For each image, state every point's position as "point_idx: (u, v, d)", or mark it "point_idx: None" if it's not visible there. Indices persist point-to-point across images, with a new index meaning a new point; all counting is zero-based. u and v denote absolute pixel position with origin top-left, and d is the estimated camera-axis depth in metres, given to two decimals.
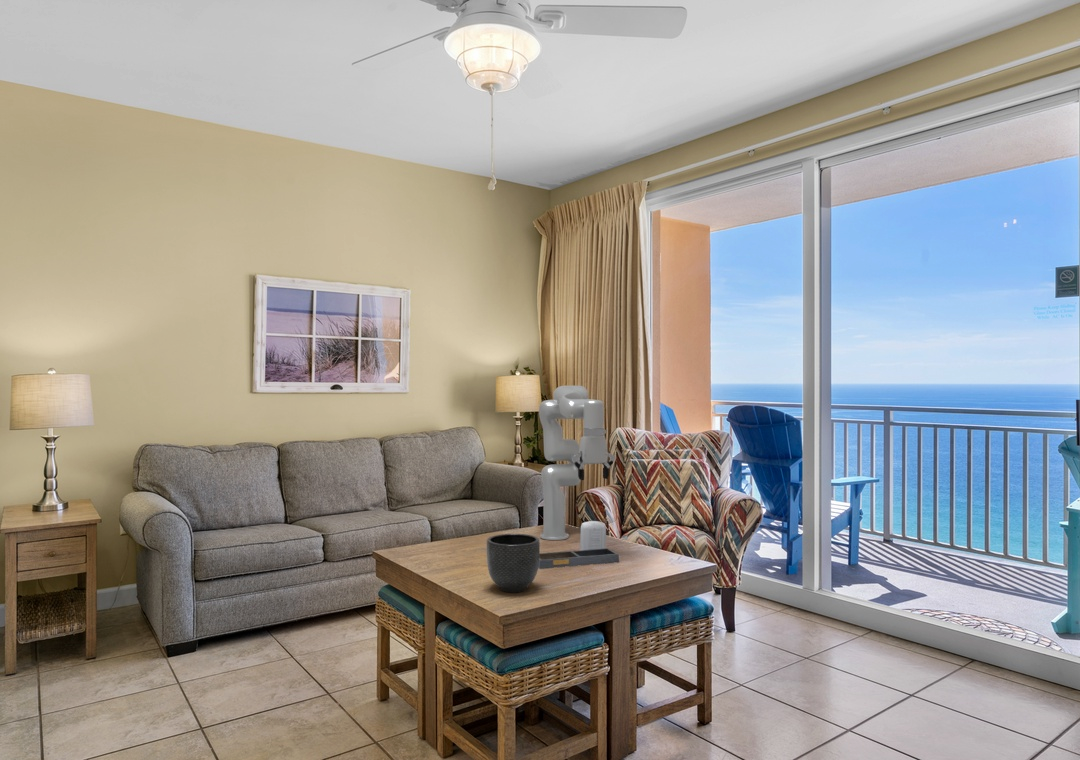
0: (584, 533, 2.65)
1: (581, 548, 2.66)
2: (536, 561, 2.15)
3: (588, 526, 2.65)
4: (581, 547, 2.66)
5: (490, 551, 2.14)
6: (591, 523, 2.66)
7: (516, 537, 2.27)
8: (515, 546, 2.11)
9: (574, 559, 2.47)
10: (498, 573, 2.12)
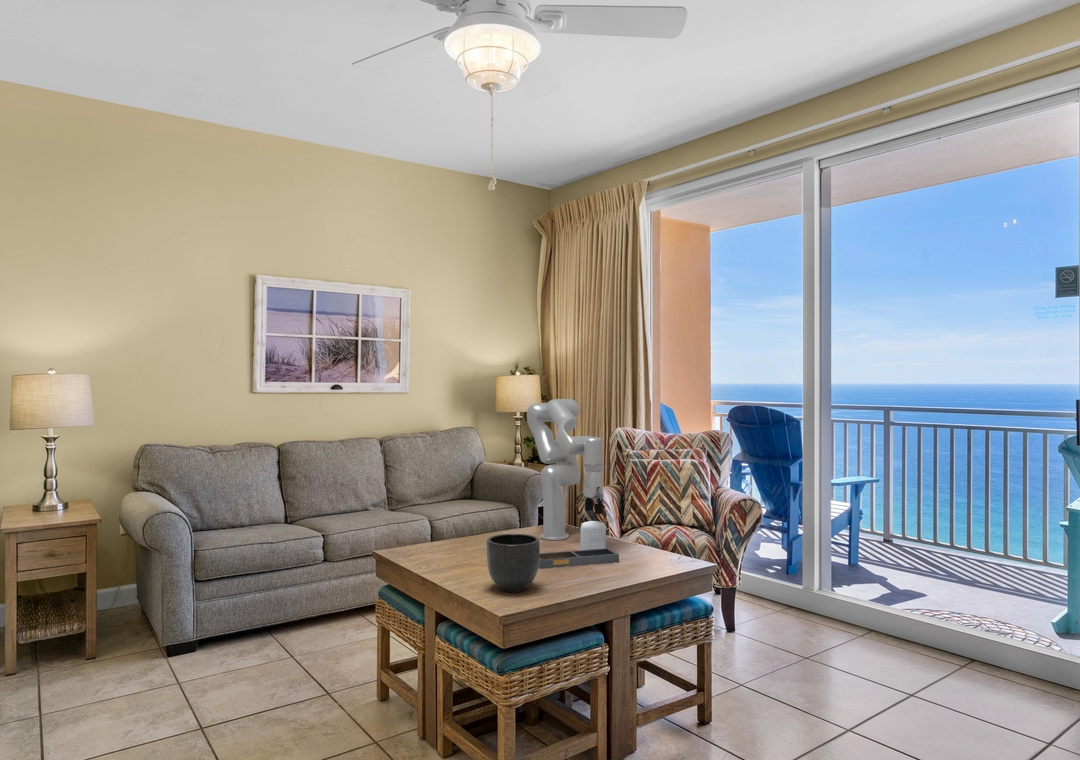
0: (584, 533, 2.65)
1: (581, 548, 2.66)
2: (536, 561, 2.15)
3: (588, 526, 2.65)
4: (581, 547, 2.66)
5: (490, 551, 2.14)
6: (591, 523, 2.66)
7: (516, 537, 2.27)
8: (515, 546, 2.11)
9: (574, 559, 2.47)
10: (498, 573, 2.12)
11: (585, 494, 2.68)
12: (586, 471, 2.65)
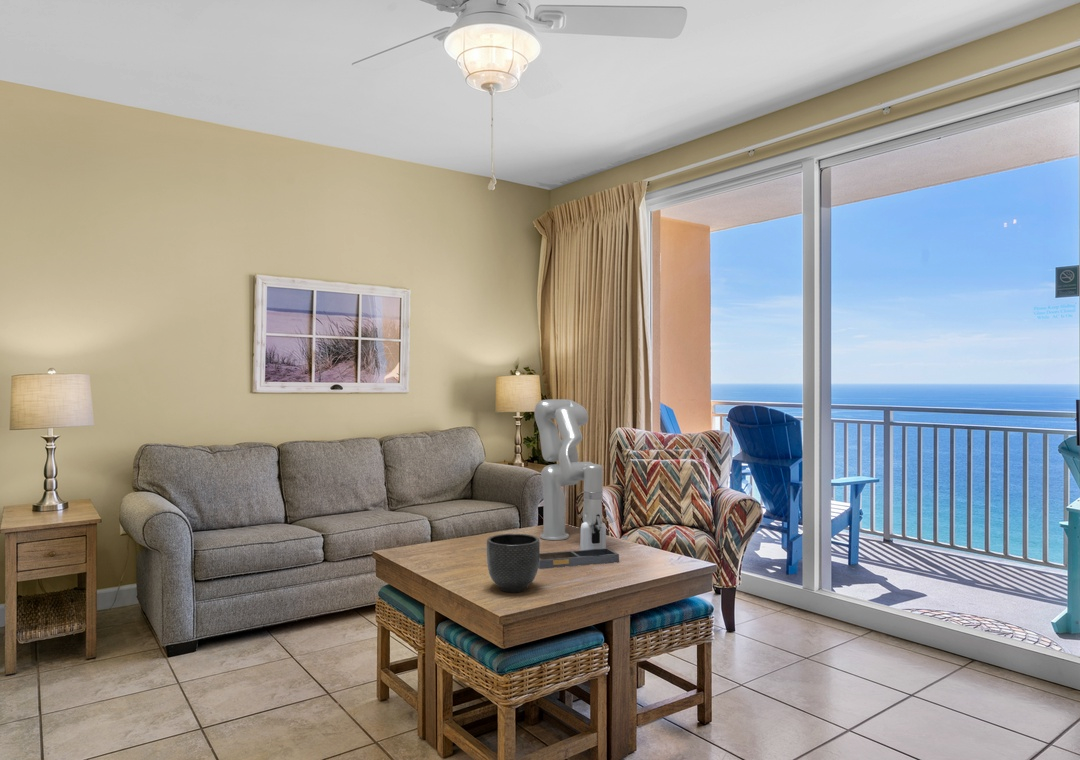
0: (584, 533, 2.65)
1: (581, 548, 2.66)
2: (536, 561, 2.15)
3: (588, 526, 2.65)
4: (581, 547, 2.66)
5: (490, 551, 2.14)
6: None
7: (516, 537, 2.27)
8: (515, 546, 2.11)
9: (574, 559, 2.47)
10: (498, 573, 2.12)
11: (584, 521, 2.68)
12: (586, 498, 2.65)
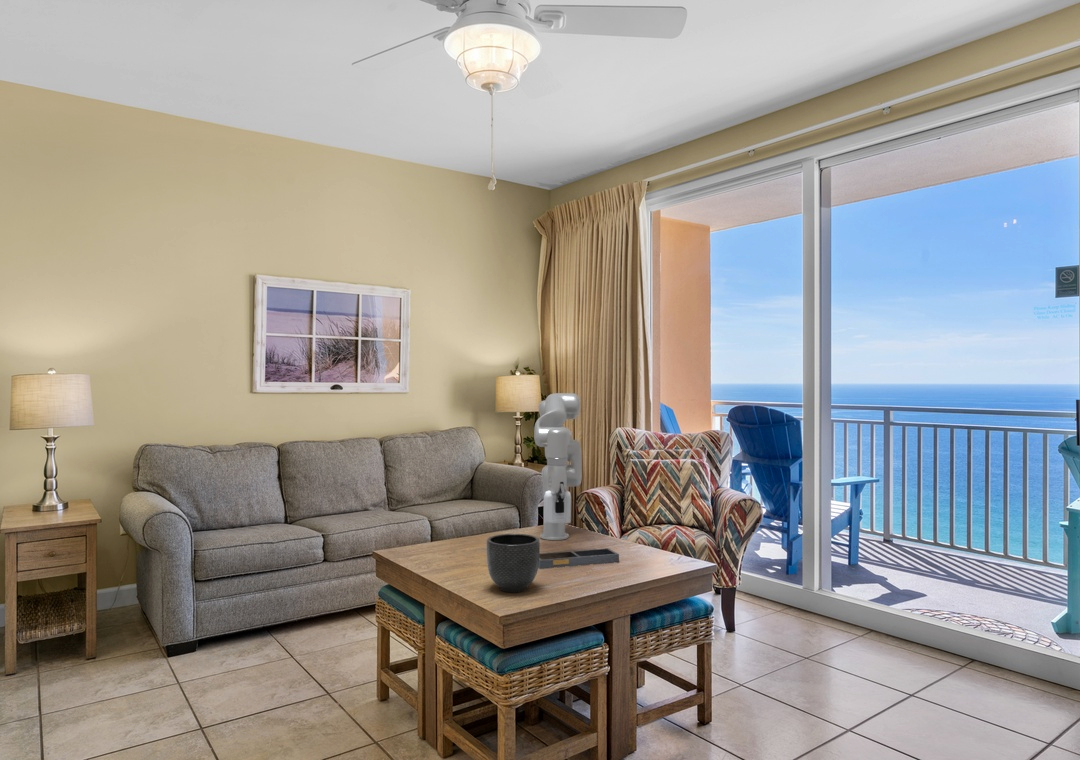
0: (548, 502, 2.48)
1: (544, 518, 2.49)
2: (536, 561, 2.15)
3: (552, 494, 2.48)
4: (544, 517, 2.49)
5: (490, 551, 2.14)
6: None
7: (516, 537, 2.27)
8: (515, 546, 2.11)
9: (574, 559, 2.47)
10: (498, 573, 2.12)
11: (548, 489, 2.51)
12: (549, 465, 2.48)
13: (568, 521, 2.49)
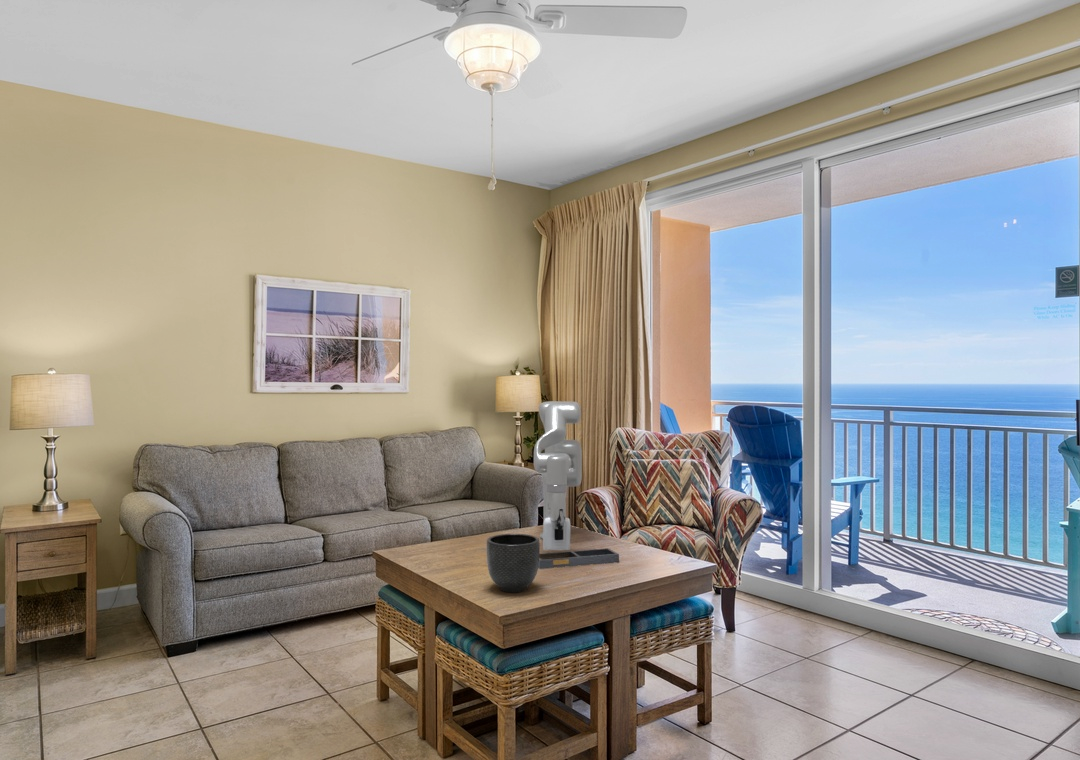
0: (547, 529, 2.47)
1: (544, 545, 2.48)
2: (536, 561, 2.15)
3: (551, 521, 2.48)
4: (544, 544, 2.48)
5: (490, 551, 2.14)
6: None
7: (516, 537, 2.27)
8: (515, 546, 2.11)
9: (574, 559, 2.47)
10: (498, 573, 2.12)
11: (547, 516, 2.51)
12: (548, 492, 2.48)
13: (567, 548, 2.48)
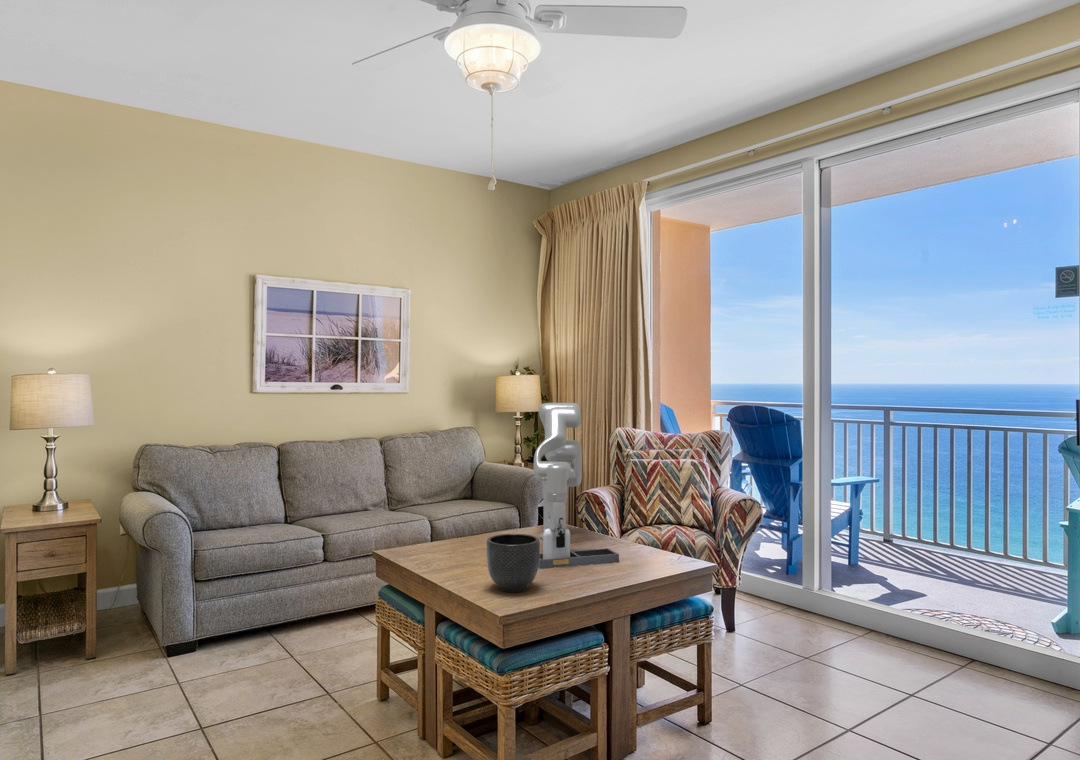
0: (547, 541, 2.48)
1: (544, 556, 2.48)
2: (536, 561, 2.15)
3: (551, 533, 2.48)
4: (544, 555, 2.48)
5: (490, 551, 2.14)
6: None
7: (516, 537, 2.27)
8: (515, 546, 2.11)
9: (574, 559, 2.47)
10: (498, 573, 2.12)
11: (547, 525, 2.51)
12: (548, 501, 2.48)
13: None
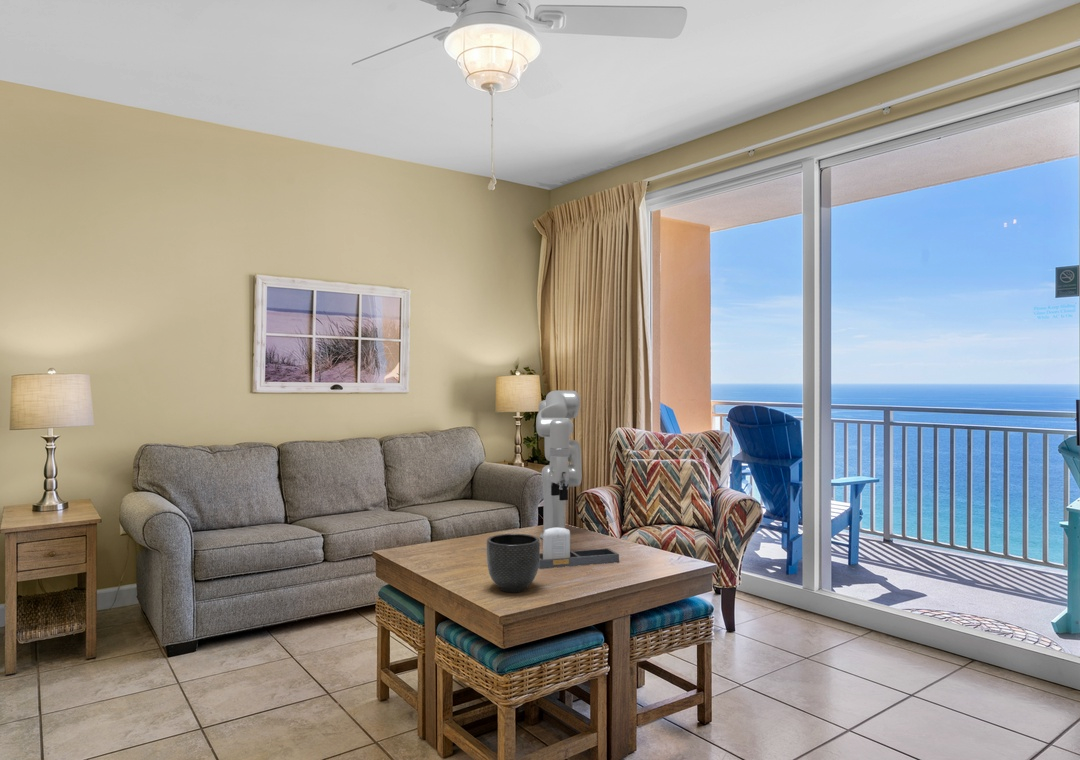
0: (547, 541, 2.47)
1: (544, 557, 2.48)
2: (536, 561, 2.15)
3: (551, 533, 2.48)
4: (544, 555, 2.48)
5: (490, 551, 2.14)
6: (554, 530, 2.48)
7: (516, 537, 2.27)
8: (515, 546, 2.11)
9: (574, 559, 2.47)
10: (498, 573, 2.12)
11: (550, 479, 2.55)
12: (551, 455, 2.52)
13: None
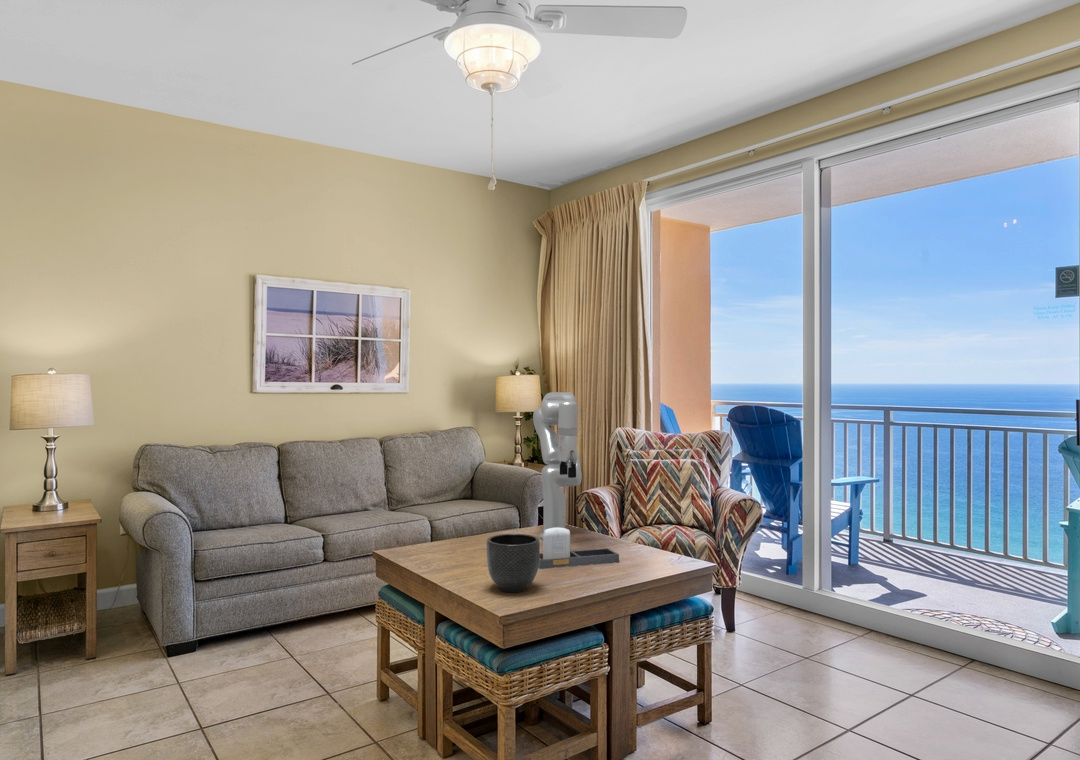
0: (547, 541, 2.47)
1: (544, 557, 2.48)
2: (536, 561, 2.15)
3: (551, 533, 2.48)
4: (544, 555, 2.48)
5: (490, 551, 2.14)
6: (554, 530, 2.48)
7: (516, 537, 2.27)
8: (515, 546, 2.11)
9: (574, 559, 2.47)
10: (498, 573, 2.12)
11: (559, 458, 2.67)
12: (560, 435, 2.64)
13: None
